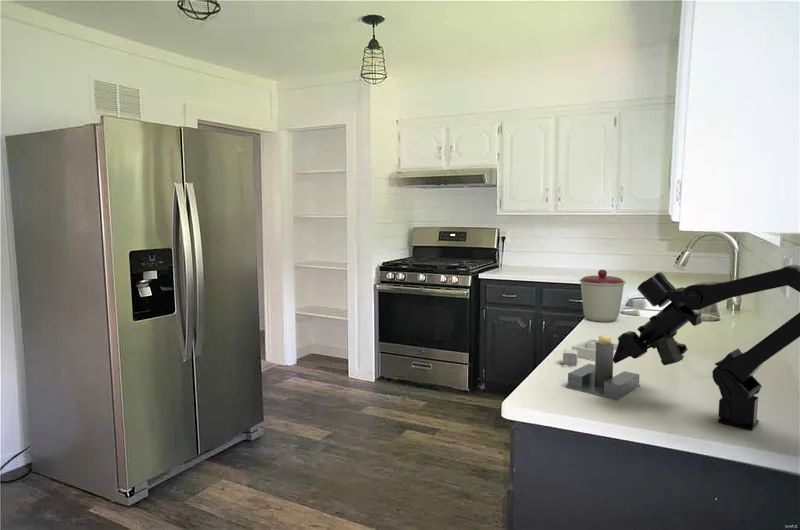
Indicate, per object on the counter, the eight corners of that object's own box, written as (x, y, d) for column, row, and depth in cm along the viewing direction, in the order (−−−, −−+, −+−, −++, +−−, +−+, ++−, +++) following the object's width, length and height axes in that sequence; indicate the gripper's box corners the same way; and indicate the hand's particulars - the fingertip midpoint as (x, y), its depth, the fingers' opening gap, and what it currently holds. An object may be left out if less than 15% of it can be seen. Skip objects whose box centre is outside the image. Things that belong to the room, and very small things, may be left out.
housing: (640, 386, 144) (640, 373, 144) (617, 400, 134) (618, 386, 134) (590, 375, 154) (590, 362, 154) (565, 387, 144) (566, 374, 144)
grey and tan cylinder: (616, 386, 143) (617, 337, 141) (602, 388, 141) (604, 339, 140) (604, 381, 147) (605, 334, 146) (591, 383, 145) (592, 335, 144)
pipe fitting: (605, 353, 179) (585, 351, 179) (606, 341, 178) (586, 340, 178) (615, 360, 171) (593, 358, 171) (616, 348, 170) (595, 346, 170)
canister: (592, 313, 239) (594, 266, 237) (632, 320, 225) (634, 269, 223) (569, 319, 228) (570, 269, 226) (609, 326, 214) (611, 273, 212)
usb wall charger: (577, 362, 166) (577, 350, 166) (576, 369, 160) (576, 356, 159) (563, 361, 168) (564, 348, 167) (562, 367, 161) (562, 354, 161)
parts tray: (628, 355, 173) (629, 345, 173) (611, 363, 164) (611, 353, 164) (590, 348, 183) (590, 338, 182) (571, 355, 174) (571, 346, 173)
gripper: (675, 356, 120) (626, 393, 129) (707, 341, 132) (661, 376, 142) (640, 317, 125) (596, 355, 135) (674, 306, 137) (631, 341, 147)
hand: (623, 358), depth 139 cm, fingers open, 9 cm apart
